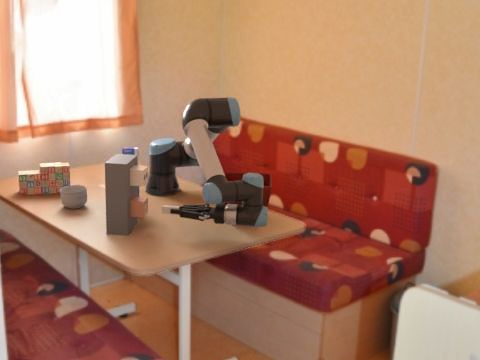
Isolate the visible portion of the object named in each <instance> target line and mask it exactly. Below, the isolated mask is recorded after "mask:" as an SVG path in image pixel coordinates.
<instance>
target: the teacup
mask: <svg viewBox="0 0 480 360" xmlns="http://www.w3.org/2000/svg"><path fill="white" fill-rule="evenodd" d="M60 200H61V204H62V205H63V206H64V207H65V208H67V209H69V208H70V209H71V210H72V209H73V210H75V209H81V208H83V207H84V206H85V205H86V204H87V202H88V187H87V186H86V185H82V184H80V183H77V184H70V186H66V187H63V188H61V189H60ZM70 209H69V210H70Z"/></svg>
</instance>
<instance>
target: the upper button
mask: <svg viewBox="0 0 480 360" xmlns="http://www.w3.org/2000/svg"><path fill="white" fill-rule="evenodd" d="M148 177H149V166H146V165H138V166H135V165H134V166H133V167H131V168H130V186H139V187H144V186H146V183H147V182H148Z"/></svg>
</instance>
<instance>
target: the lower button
mask: <svg viewBox="0 0 480 360" xmlns="http://www.w3.org/2000/svg"><path fill="white" fill-rule="evenodd" d="M148 213H149V197H148V196H139V197H137V196H134V197H133V198H132V199H131V200H130V217H138V218H145V217H146V216H147V215H148Z"/></svg>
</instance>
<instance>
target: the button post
mask: <svg viewBox="0 0 480 360" xmlns="http://www.w3.org/2000/svg"><path fill="white" fill-rule="evenodd" d="M134 165H135V166H139V157H138V158H137V155H128V154H122V153H116V154H114V155H113V156H112V157H111V158H109V159H108V160H106V161H105V162H104V177H105V178H104V181H105V183H104V186H105V188H104V190H105V229H106V230H105V231H106V235H115V236H117V235H118V236H127V237H128V236H129V235H130V234H131V233H132V231H133V230H134V229H135V227H137V225H138V224H139V217H130V200H131V199H132V198H133V197H134V196H137V197H138V186H130V168H131V167H133V166H134Z"/></svg>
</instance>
